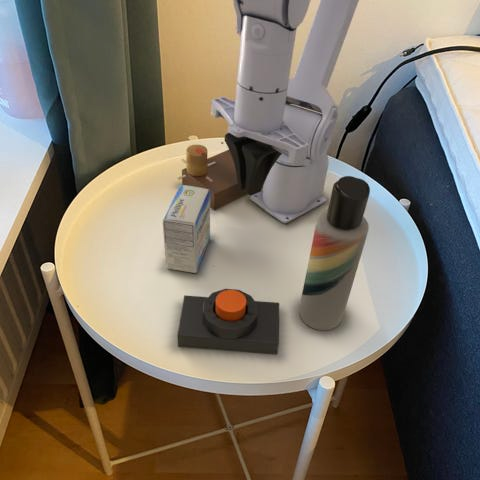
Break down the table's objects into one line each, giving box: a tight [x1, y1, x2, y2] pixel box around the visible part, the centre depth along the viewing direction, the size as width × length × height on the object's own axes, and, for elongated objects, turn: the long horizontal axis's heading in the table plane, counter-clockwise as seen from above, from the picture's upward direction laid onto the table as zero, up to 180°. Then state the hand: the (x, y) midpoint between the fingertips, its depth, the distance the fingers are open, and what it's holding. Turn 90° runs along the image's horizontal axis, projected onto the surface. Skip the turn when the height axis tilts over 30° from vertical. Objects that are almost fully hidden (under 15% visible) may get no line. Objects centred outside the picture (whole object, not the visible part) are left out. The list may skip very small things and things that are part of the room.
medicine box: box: [162, 184, 211, 274], centre depth 74 cm, size 8×4×9 cm, turn 168°
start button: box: [215, 290, 246, 322], centre depth 65 cm, size 4×4×2 cm
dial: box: [185, 144, 208, 176], centre depth 84 cm, size 3×3×4 cm
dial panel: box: [177, 149, 248, 211], centre depth 87 cm, size 12×10×3 cm
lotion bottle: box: [298, 175, 371, 331], centre depth 63 cm, size 6×6×20 cm
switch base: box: [176, 288, 280, 355], centre depth 67 cm, size 12×7×4 cm, turn 87°
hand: (249, 189), depth 71 cm, fingers closed
